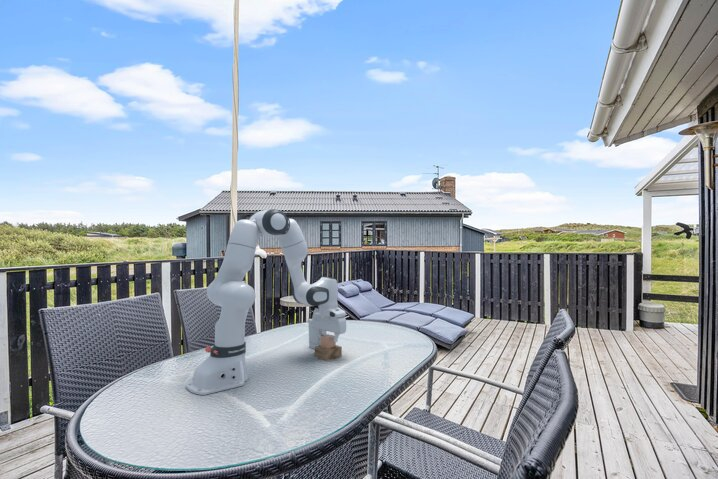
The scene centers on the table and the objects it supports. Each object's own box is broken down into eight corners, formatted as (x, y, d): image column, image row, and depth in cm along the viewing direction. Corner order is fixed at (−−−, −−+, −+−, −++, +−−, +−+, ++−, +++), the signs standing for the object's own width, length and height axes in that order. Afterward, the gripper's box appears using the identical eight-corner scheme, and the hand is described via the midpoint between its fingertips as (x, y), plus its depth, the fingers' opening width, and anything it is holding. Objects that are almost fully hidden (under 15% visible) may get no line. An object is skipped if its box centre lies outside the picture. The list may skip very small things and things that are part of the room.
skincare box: (327, 348, 184) (327, 319, 184) (317, 351, 179) (318, 321, 179) (317, 345, 190) (317, 316, 190) (307, 347, 185) (308, 318, 186)
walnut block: (327, 361, 164) (327, 350, 164) (314, 357, 171) (314, 346, 171) (341, 357, 171) (341, 346, 171) (328, 353, 177) (329, 342, 177)
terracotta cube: (328, 348, 167) (328, 338, 167) (320, 346, 170) (320, 336, 170) (335, 346, 171) (335, 335, 171) (328, 344, 174) (328, 334, 174)
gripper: (308, 308, 175) (308, 337, 175) (339, 314, 162) (338, 345, 162) (318, 307, 180) (318, 334, 180) (348, 312, 167) (348, 342, 167)
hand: (328, 340), depth 171 cm, fingers open, 8 cm apart
